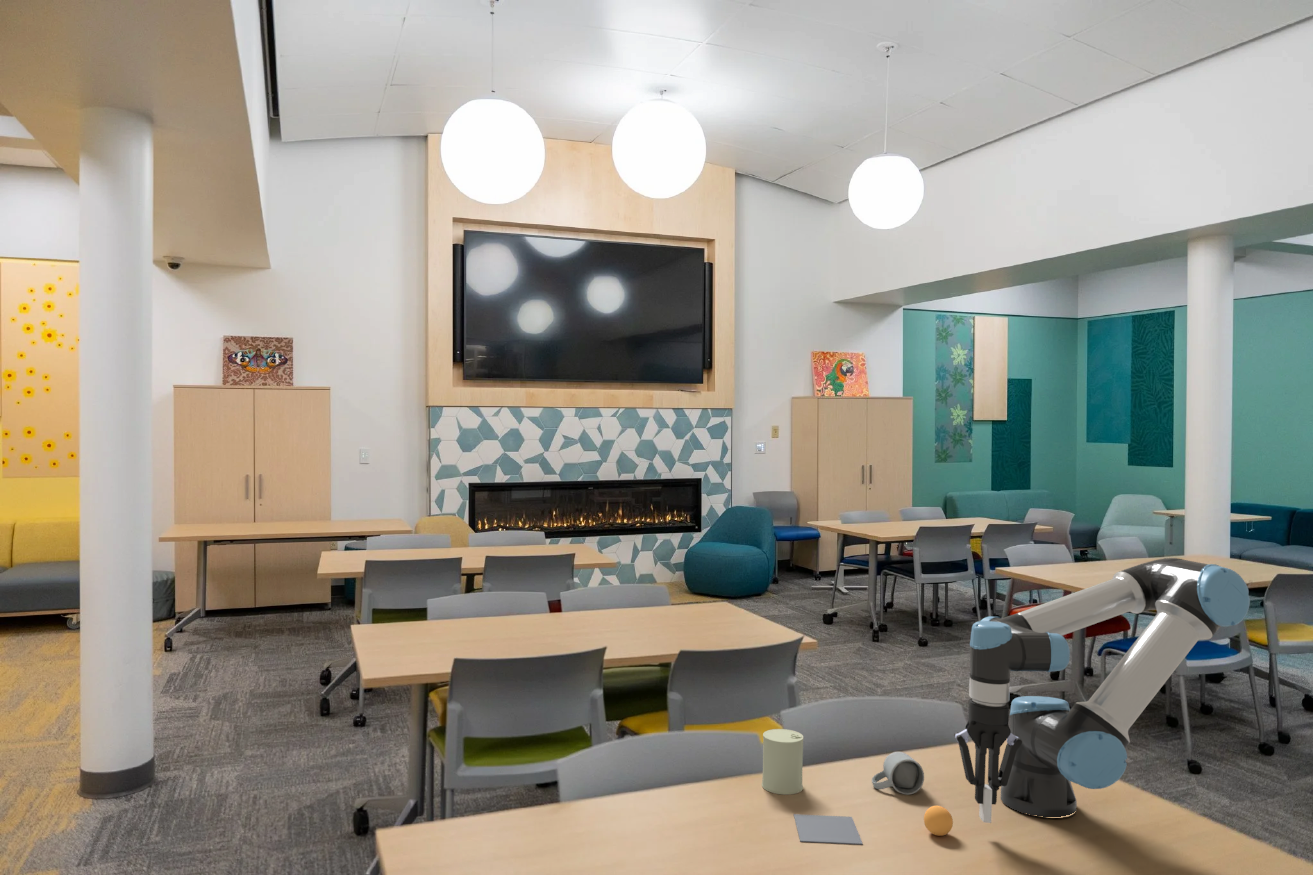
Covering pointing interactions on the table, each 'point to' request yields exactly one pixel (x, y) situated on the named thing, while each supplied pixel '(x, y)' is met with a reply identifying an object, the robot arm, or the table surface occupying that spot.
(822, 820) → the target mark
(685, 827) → the table surface
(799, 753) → the can
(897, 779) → the ceramic mug
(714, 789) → the table surface
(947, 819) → the ball
